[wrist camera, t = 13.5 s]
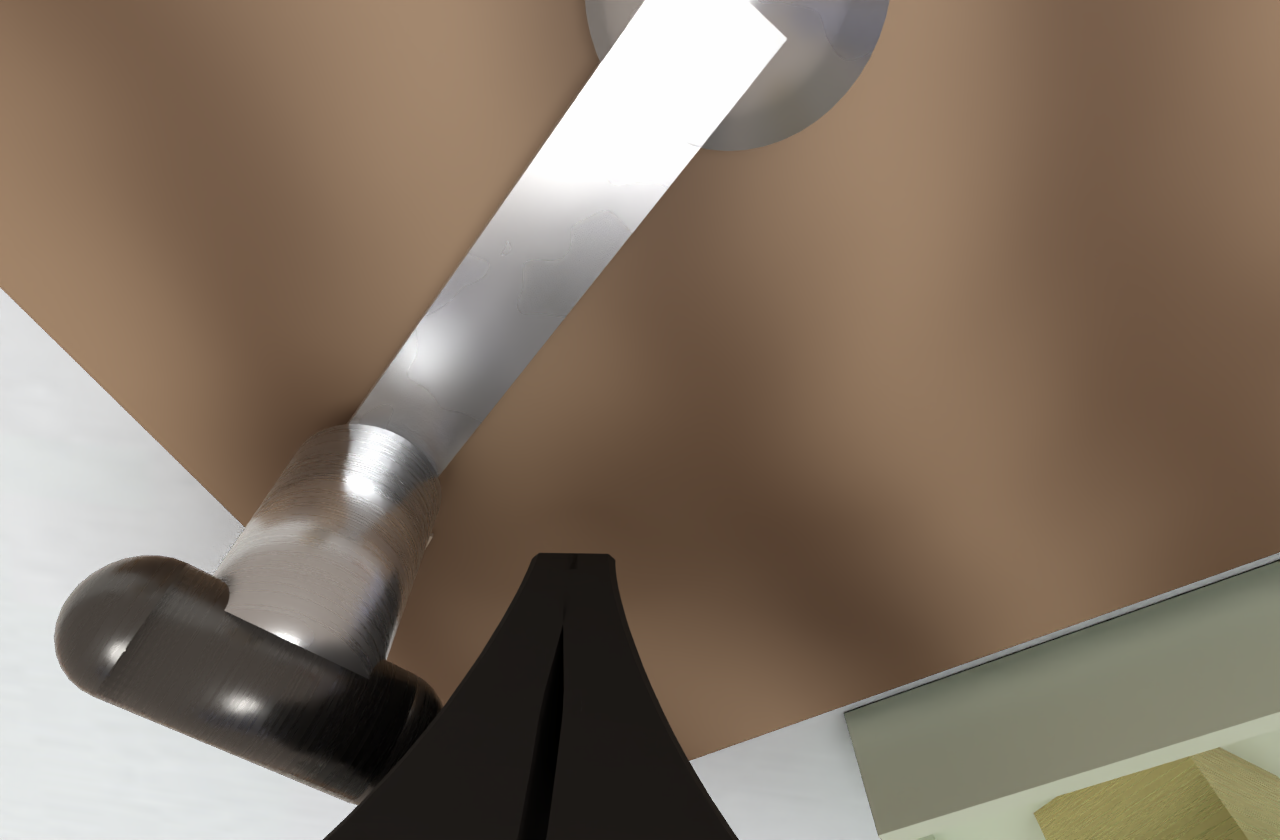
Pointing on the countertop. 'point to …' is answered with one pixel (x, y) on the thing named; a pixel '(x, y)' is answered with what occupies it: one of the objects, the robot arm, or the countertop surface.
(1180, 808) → the block
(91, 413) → the countertop surface
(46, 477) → the countertop surface
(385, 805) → the robot arm
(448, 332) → the crank
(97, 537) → the countertop surface
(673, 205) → the crank plate
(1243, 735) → the tray
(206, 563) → the countertop surface
